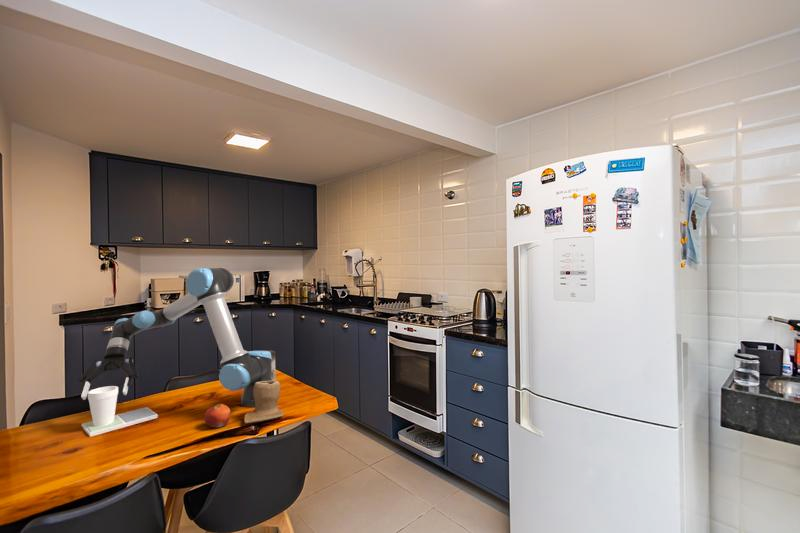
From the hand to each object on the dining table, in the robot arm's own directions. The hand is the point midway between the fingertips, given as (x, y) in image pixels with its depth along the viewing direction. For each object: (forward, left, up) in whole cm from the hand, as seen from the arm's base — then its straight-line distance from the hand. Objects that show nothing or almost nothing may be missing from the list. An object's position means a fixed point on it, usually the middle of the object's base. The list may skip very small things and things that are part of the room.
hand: (104, 395), depth 149 cm
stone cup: (-46, -42, -12) cm, 63 cm away
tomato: (-37, -28, -12) cm, 48 cm away
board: (-2, -5, -11) cm, 13 cm away
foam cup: (-2, +1, -10) cm, 10 cm away
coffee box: (0, -70, -12) cm, 71 cm away
